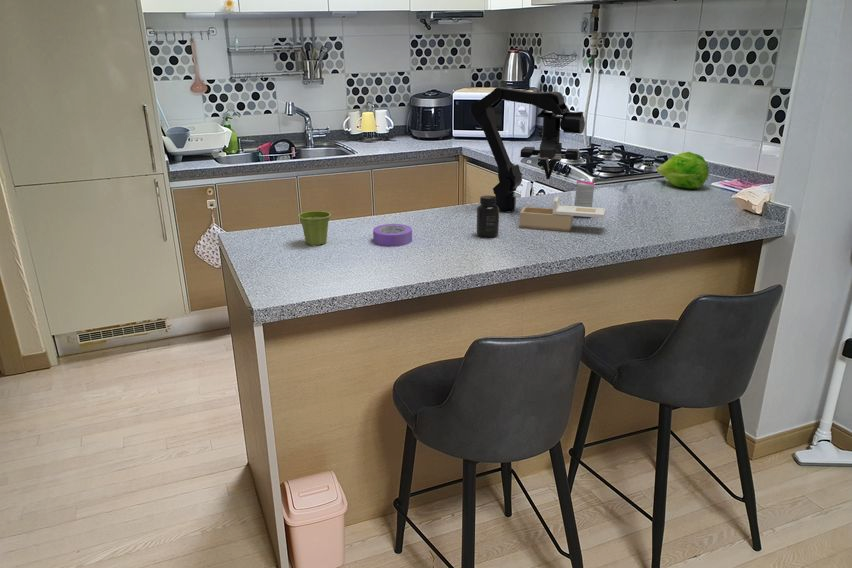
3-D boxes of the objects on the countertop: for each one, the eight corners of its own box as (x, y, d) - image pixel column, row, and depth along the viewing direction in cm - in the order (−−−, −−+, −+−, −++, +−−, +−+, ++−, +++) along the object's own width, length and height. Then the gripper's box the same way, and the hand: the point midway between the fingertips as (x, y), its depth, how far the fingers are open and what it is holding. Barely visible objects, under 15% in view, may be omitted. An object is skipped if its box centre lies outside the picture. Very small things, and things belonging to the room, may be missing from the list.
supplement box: (591, 218, 224) (594, 184, 220) (573, 217, 225) (576, 184, 221) (591, 214, 230) (593, 181, 226) (573, 213, 231) (576, 180, 227)
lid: (552, 214, 209) (553, 201, 207) (555, 207, 216) (556, 195, 215) (603, 218, 205) (604, 205, 203) (605, 211, 212) (606, 199, 211)
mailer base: (519, 227, 214) (519, 212, 212) (523, 221, 221) (524, 206, 219) (569, 231, 209) (571, 216, 208) (572, 225, 216) (573, 210, 215)
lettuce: (644, 189, 275) (669, 190, 283) (690, 187, 256) (716, 188, 263) (645, 153, 274) (670, 155, 281) (692, 148, 254) (718, 150, 262)
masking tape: (399, 249, 194) (398, 236, 192) (365, 243, 199) (365, 231, 198) (419, 239, 203) (419, 226, 202) (386, 233, 209) (386, 221, 207)
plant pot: (303, 238, 204) (301, 210, 200) (334, 238, 203) (333, 210, 200) (297, 247, 195) (295, 218, 192) (329, 247, 195) (327, 218, 191)
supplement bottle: (500, 233, 208) (502, 195, 204) (495, 239, 202) (496, 200, 198) (479, 231, 210) (480, 193, 206) (473, 237, 204) (474, 198, 200)
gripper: (518, 134, 214) (516, 182, 219) (577, 136, 208) (574, 185, 214) (524, 129, 224) (522, 175, 229) (581, 131, 218) (577, 178, 224)
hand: (548, 179), depth 224 cm, fingers closed
